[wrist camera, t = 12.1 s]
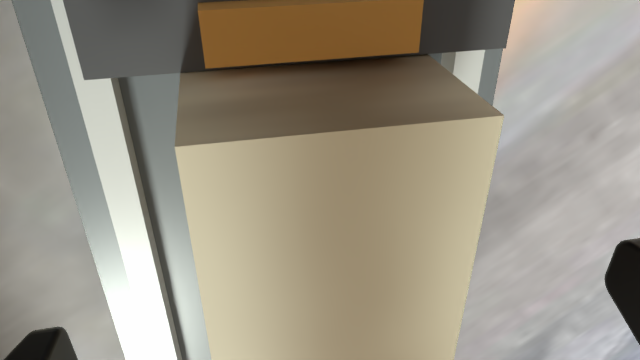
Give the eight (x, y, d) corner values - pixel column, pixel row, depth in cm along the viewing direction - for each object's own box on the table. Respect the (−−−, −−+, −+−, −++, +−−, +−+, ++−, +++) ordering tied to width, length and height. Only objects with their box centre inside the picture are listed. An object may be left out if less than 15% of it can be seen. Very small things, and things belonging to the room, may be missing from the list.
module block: (212, 231, 15) (220, 410, 10) (183, 30, 12) (174, 146, 7) (372, 211, 16) (452, 367, 11) (384, 19, 13) (503, 115, 8)
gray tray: (165, 452, 22) (158, 580, 18) (18, -40, 12) (-75, 8, 8) (423, 400, 24) (468, 506, 20) (497, -58, 14) (622, -27, 10)
